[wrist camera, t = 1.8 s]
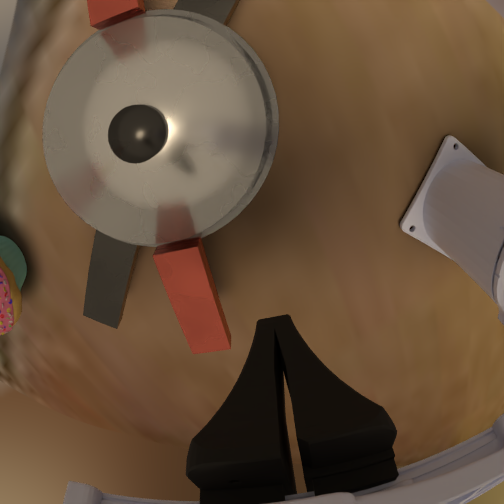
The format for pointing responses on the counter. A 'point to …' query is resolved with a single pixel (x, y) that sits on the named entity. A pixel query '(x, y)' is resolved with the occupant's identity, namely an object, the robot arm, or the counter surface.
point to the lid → (157, 145)
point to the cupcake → (10, 283)
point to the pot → (125, 253)
